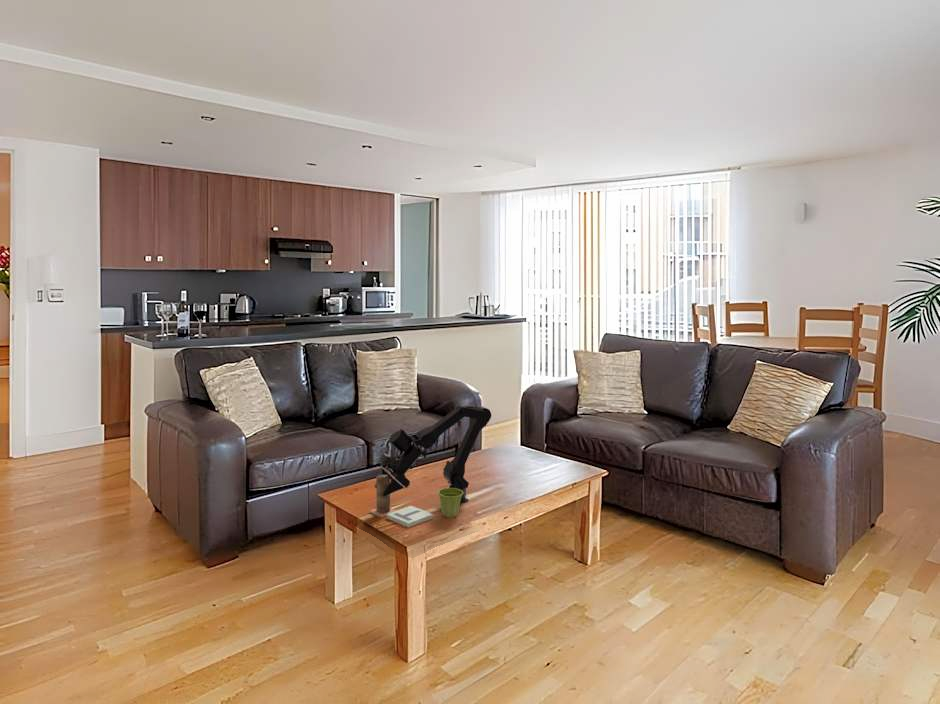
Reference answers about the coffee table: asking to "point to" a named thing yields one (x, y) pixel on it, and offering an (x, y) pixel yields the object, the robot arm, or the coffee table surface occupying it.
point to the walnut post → (381, 486)
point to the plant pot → (450, 501)
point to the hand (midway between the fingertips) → (379, 491)
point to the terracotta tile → (381, 513)
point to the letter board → (409, 516)
